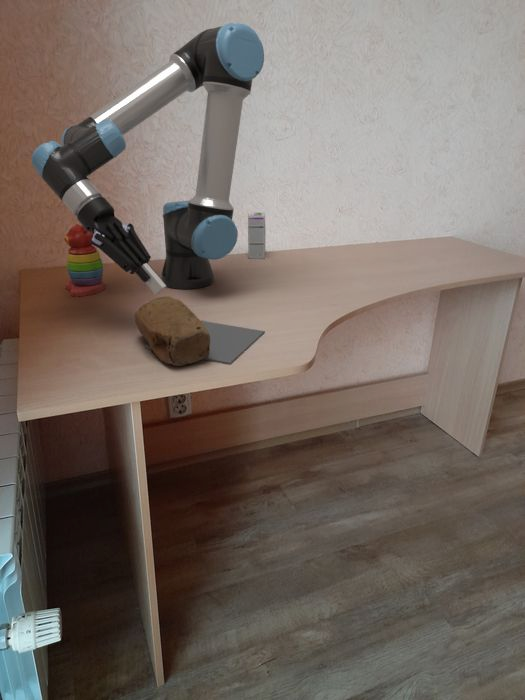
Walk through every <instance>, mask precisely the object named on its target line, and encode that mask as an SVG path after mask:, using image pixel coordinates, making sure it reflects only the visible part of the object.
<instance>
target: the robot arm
mask: <svg viewBox="0 0 525 700" xmlns="http://www.w3.org/2000/svg"><path fill="white" fill-rule="evenodd" d="M264 63H265V51H264V46H263V43H262V40H261V39H260V37H259V35H258V34H257V32H256V31H255V30H254V29H253V28H252V27H250V26H248V25H247V24H244V23H239V22H238V23H232V22H230V23H226V24H224V25H221V26H217V27H213V28H208V29H205V30H203V31H200V32H199V33H198V34H196V36H194V37H193V38H192V39H190V40H189V41H188V42H186V43H185V44H184V45H182V46H181V47H180V48H179V49H178V50H176V51H174V53H172V54H170V55H169V61H168V62H167V63H165V64H164V65H163V66H161V67H159V68H158V69H157V70H155V71H153V72H152V73H151V74H149V75H148V76H146V77H145V78H143V79H142V80H141V81H139V82H137V83H136V84H135V85H133V86H132V87H130V88H128V89H127V90H126V91H124V92H123V93H122V94H120V95H119V96H117V97H116V98H114V99H113V100H112V101H110V102H109V103H107V104H106V105H104V106H103V107H101V108H100V109H98V110H97V111H95V112H94V113H93V114H91V115H90V116H88V117H87V118H85V119H83V120H82V121H80V122H79V123H77V124H75V125H71V126H69V127H67V128H66V129H65V130H64V131H63V132H62V135H61V144H59V142H57V141H55V140H50V141H47V142H43V143H42V144H40V145H39V146H38V147H36V149H34V151H33V152H32V154H31V158H30V160H31V161H30V162H31V165H32V167H33V169H35V171H36V172H37V173H38V175H39V176H40V177H41V179H42V180H43V182H45V183H46V185H47V186H48V187H49V188H50V189H51V190H52V191H53V193H54V194H55V195H56V196H57V197H58V198H59V200H61V202H62V203H64V205H65V206H66V208H68V210H69V211H70V212H71V213H72V215H74V217H77V221H78V222H79V223H80V225H81V226H84V228H85V229H86V230H87V231H92V233H93V238H92V239H91V241H90V243H91V244H92V246H94V247H95V248H98V249H99V250H101V251H102V253H104V254H105V255H106V256H107V257H108V258H110V259H111V260H112V261H113V262H114V263H115V264H116V265H118V267H120V268H121V269H122V270H123V271H125V272H126V273H129V274H131V275H134V274H136V275H137V276H138V278H140V279H141V281H142V282H144V283H145V285H147V286H148V288H149V289H150V290H151V291H152V293H153V294H154V295H155V296H157V295H158V294H160V293H161V292H162V291H163V290H164V289H166V288H170V289H171V288H172V289H176V290H177V289H178V290H193V289H200V288H205V287H208V286H210V285H212V284H213V283H214V281H215V279H214V278H215V277H214V271H213V269H212V266H211V263H210V260H212V261H215V260H221V259H223V258H225V257H227V255H228V254H230V253H231V252H232V251H233V250H234V248H235V246H236V244H237V242H238V235H239V234H238V227H237V226H236V224H235V221H233V217H234V207H233V205H232V204H231V202H230V194H231V189H232V188H231V187H232V181H233V173H234V166H235V160H236V152H237V146H238V138H239V132H240V130H239V129H240V124H241V123H240V122H241V117H242V109H243V103H244V102H243V101H244V100H245V99H246V98H247V97H248V96H249V95H251V91H252V85H253V80H254V79H256V77H257V76H258V75H259V74H261V71H262V69H263V67H264ZM201 87H204V89H205V90H206V92H207V95H206V96H207V97H206V106H205V114H204V123H203V131H202V138H201V148H200V156H199V163H198V164H199V165H198V173H197V182H196V189H195V195H194V196H193V197H192V198H190V199H189V200H182V201H181V200H180V201H179V200H178V201H172V202H171V201H170V202H166V203H165V204H163V210H162V218H163V220H162V221H163V229H164V242H165V244H164V245H165V259H164V263H163V268H162V272H161V275H160V276H161V278H160V277H159V276H158V274H157V272H156V270H154V269H153V267H152V266H151V265H150V264H149V262H150V261H151V259H152V257H151V254H149V252H148V250H147V249H146V247H145V245H144V244H143V242H142V241H141V238H140V237H139V236H138V234H137V232H136V230H135V227H134V224H132V223H130V222H129V223H128V224H127V225H126V224H124V223H123V222H122V221H121V220H120V219H118V218H117V217H116V216H115V208H114V207H113V206H112V205H111V204H110V202H109V201H108V200H107V199H106V198H105V196H103V195H102V194H103V193H101V191H100V190H99V189H98V188H97V187H96V186H95V185H94V183H93V182H92V181H91V180H90V179H89V178H88V176H90V175H92V173H94V172H96V171H97V170H98V169H100V168H101V167H103V166H104V165H106V164H108V163H109V162H111V160H114V159H115V158H118V156H119V155H120V154H121V153H122V152H124V151H125V150H126V147H127V143H126V142H127V141H126V140H125V137H124V136H125V135H126V134H127V133H129V132H130V131H132V130H133V129H135V128H136V127H137V126H138V125H140V124H141V123H143V122H144V121H146V120H147V119H149V118H150V117H152V115H155V114H156V113H157V112H159V111H160V110H161V109H164V108H165V107H166V106H167V105H169V104H170V103H171V102H173V101H174V100H177V98H178V97H180V96H182V95H183V94H184V93H187V92H188V93H194V92H195V91H196V90H198V89H200V88H201Z"/></svg>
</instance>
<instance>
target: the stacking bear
mask: <svg viewBox="0 0 525 700" xmlns="http://www.w3.org/2000/svg"><path fill="white" fill-rule="evenodd" d="M93 236H94V234H93V233H92V231H87V230H86V229H85V228H84V226H83V225H81V224H77V223H76V224H75V225H74V226H72V227H70V228H69V230H68V232H67V233H66V235H65V236H64V242H65V243H66V244H67V245H68V246H69V248H68V250H67V252H68V253H67V258H66V260H67V261H66V268H67V274H68V276H69V278H70V281H67V282H66V283H65V285H64V287H65V289H66V290H68V291H69V295H70V296H71V297H74V296H75V297H79V296H80V297H85V296H91V295H94V293H95V294H98V293H100V292H102V291H104V289H105V284H104V282H103V274H104V267H103V266H104V265H103V259H102V258H101V254H100V251H99V250H97V247H96V246H94V245H92V244H91V243H90V241H91V239H92V238H93Z"/></svg>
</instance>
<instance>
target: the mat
mask: <svg viewBox="0 0 525 700" xmlns="http://www.w3.org/2000/svg"><path fill="white" fill-rule="evenodd" d="M199 320H200V319H199ZM200 321H201V322H202V323H203V325H204V326H205V328H206V329H207V330H208V332H209V334H210V354H209V356H208V357H206V358H204V359H203V360H204V361H205V360H206V361H210V362H214V363H221V364H225V365H232V364H233V363H234V362H235V361H236V360H237V359H238V358H239V357H241V355H242V354H244V353H245V352H246V351H247V350H248V349H249V348H250V347H251V346H252V345H254V343H256V342H257V341H258V340H259V339H260V338H261V337H262V336H263V335H265V333H266V331H265V330H260V329H254V328H253V329H252V328H248V327H241V326H236V325H230V324H224V323H217V322H213V321H212V322H211V321H207V320H200ZM259 337H260V338H259ZM258 338H259V339H258ZM144 349H149V350H153V349H152V348H151V347H150V345H149V343H148V344H147V345H145V346H144Z"/></svg>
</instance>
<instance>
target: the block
mask: <svg viewBox="0 0 525 700" xmlns="http://www.w3.org/2000/svg"><path fill="white" fill-rule="evenodd" d="M134 319H135V324H136V326H137V329H138V331H139V333H140V334H141V335H142V337H143V338H144V339H145V340H146V341H147V343H148V344H149V345H150V347H151V348H152V349H151V350H152V351H153V352H154V354H155V355H156V356H157V358H158V359H159V360H160V361H161V362H163V363H164V364H169V365H172V366H176V367H182V366H186V365H188V364H193V363H197V362H199V361H202V360H204V358H206V357H208V356H209V354H210V334H209V332H208V330H207V329H206V328H205V326H204V325H203V323H202V322H201V321H202V320H201V321H200V318H199V317H198V316H197V315H196V314H195V313H194V312H193V311H192V310H191V309H190V308H189V307H188V306H187V305H186V304H185V303H184V302H183V301H181V300H180V299H176V298H174V297H172V296H163V297H158V298H154V299H152V300H150V301H148V302H146V303H144V304H143V305H141V306H140V307H139V309H138V310H137V311H136V312H135V313H134Z"/></svg>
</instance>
